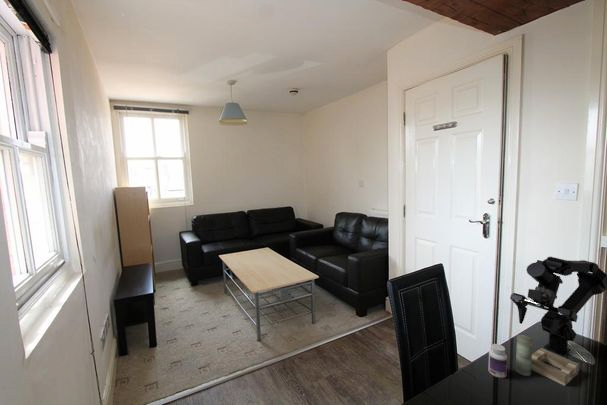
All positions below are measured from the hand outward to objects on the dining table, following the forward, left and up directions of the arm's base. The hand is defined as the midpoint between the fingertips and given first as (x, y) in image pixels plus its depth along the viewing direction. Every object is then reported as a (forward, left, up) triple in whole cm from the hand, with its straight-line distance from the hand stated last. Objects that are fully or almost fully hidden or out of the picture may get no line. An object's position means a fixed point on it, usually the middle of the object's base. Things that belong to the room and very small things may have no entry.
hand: (535, 328), depth 106 cm
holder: (-2, +5, -14) cm, 15 cm away
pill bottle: (+15, -5, -14) cm, 21 cm away
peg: (+7, 0, -14) cm, 16 cm away
